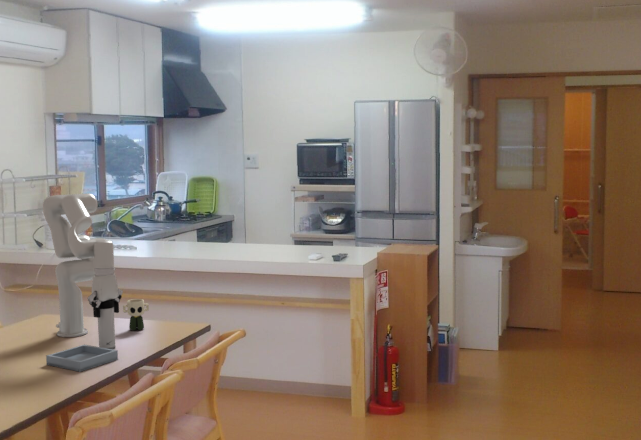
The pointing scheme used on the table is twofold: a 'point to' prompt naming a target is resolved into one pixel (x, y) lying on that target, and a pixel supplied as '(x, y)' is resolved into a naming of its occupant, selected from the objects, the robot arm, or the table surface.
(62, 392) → the table surface
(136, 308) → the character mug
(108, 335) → the travel mug
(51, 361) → the tray
